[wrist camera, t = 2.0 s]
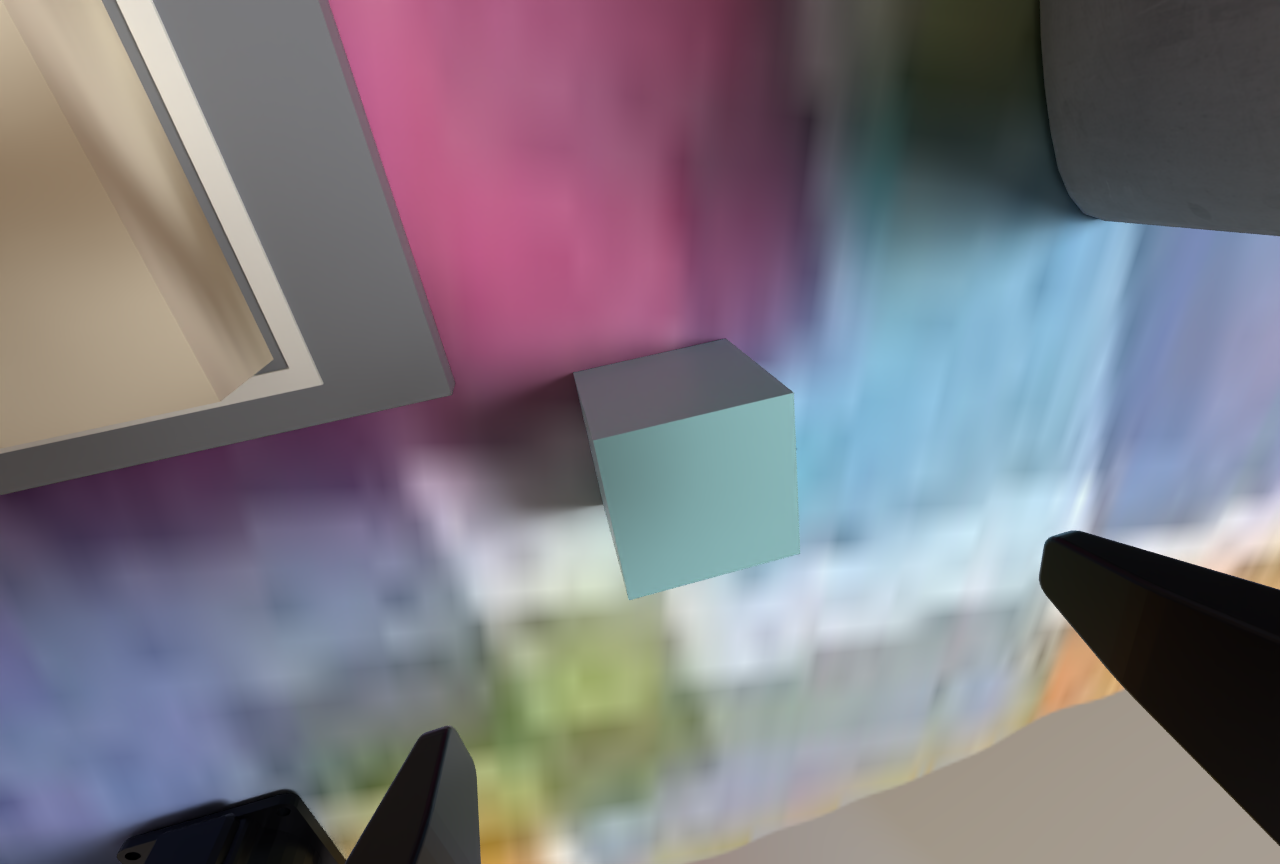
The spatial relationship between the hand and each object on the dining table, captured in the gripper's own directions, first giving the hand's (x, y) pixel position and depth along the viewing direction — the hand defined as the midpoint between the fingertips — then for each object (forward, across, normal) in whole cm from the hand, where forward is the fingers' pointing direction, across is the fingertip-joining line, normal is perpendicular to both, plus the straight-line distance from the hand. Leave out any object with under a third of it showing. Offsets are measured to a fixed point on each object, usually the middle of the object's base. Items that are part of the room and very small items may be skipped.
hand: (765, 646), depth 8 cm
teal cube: (+11, -1, +2) cm, 11 cm away
